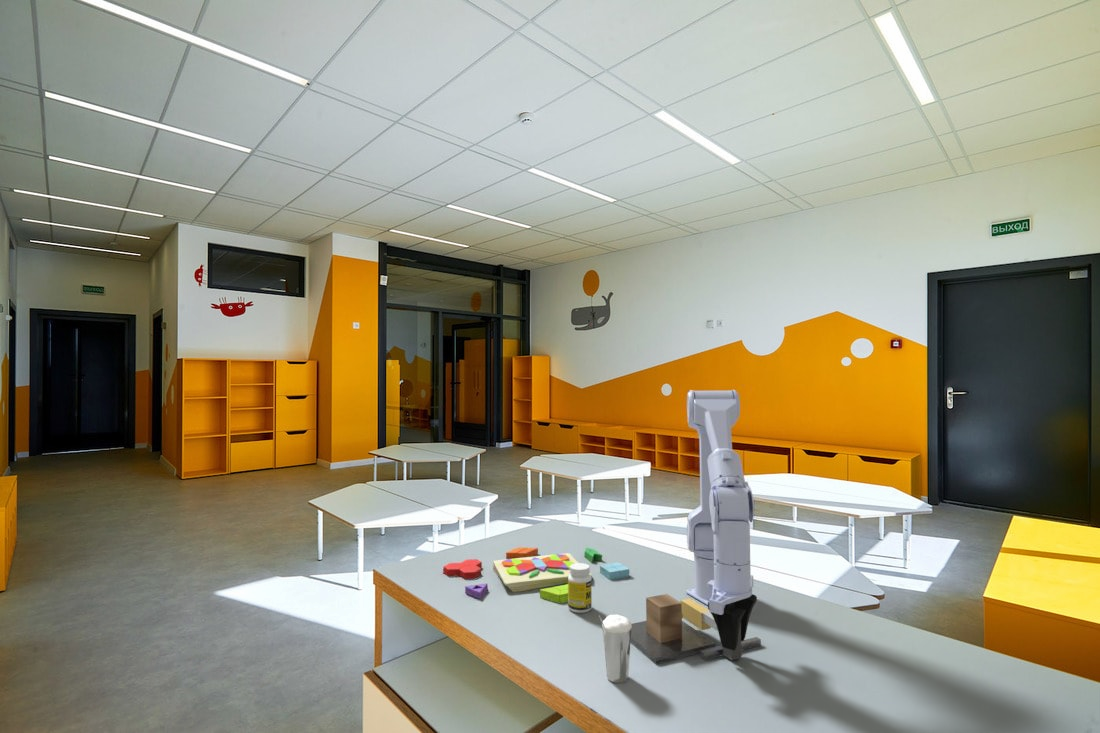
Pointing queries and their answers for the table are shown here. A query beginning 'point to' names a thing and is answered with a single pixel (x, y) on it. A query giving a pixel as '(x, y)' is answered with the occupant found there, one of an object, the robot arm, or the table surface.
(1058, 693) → the table surface
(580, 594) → the supplement bottle
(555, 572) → the pattern blocks set
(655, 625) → the brown rectangular block
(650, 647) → the press base
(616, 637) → the milkshake
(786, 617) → the table surface
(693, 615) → the lever with yellow grip
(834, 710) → the table surface
